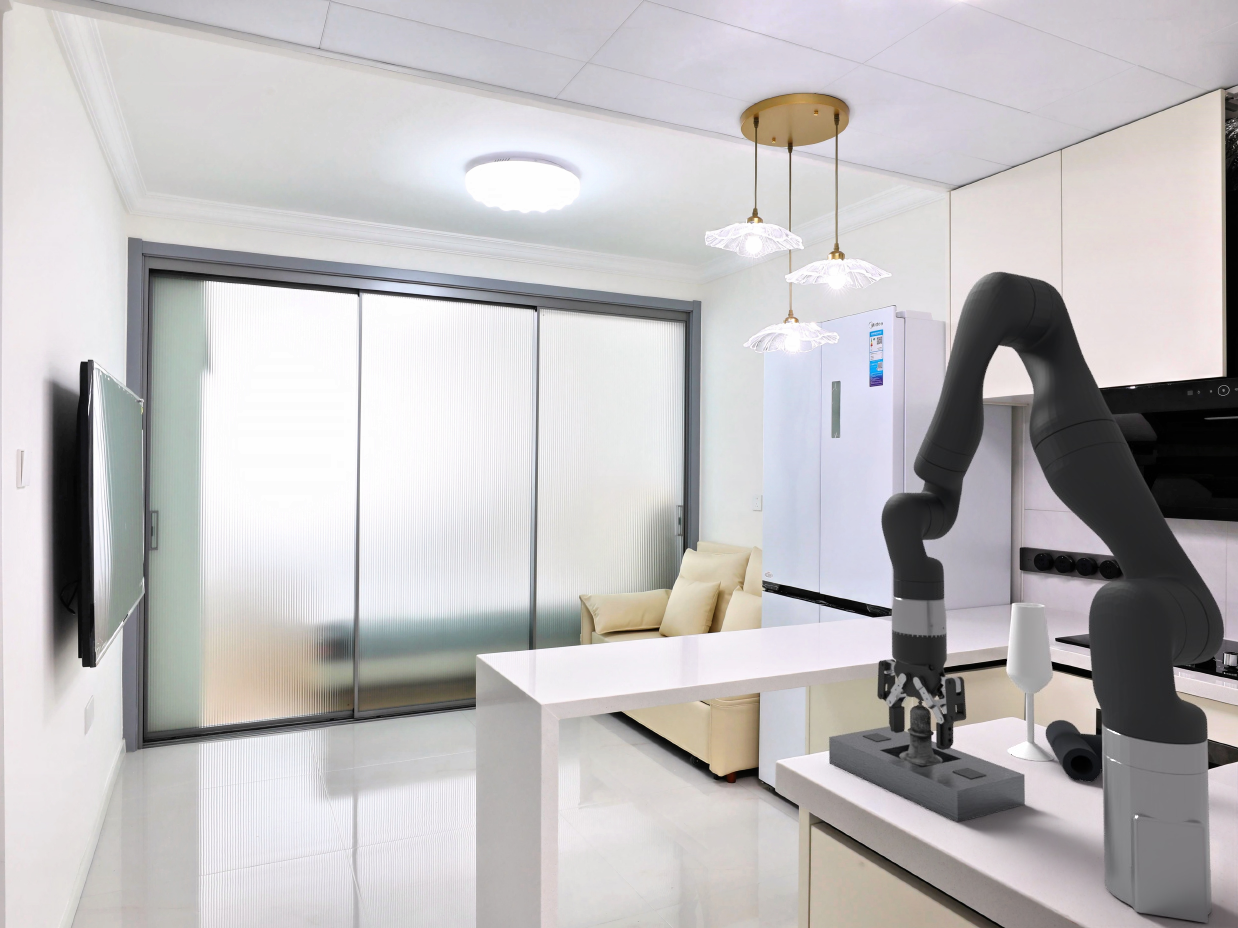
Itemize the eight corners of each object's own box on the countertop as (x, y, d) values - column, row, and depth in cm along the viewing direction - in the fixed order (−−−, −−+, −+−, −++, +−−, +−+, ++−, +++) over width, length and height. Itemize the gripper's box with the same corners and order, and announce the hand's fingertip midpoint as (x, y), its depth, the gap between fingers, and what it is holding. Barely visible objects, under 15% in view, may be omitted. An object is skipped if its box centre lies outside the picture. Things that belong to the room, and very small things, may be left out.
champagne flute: (1005, 744, 130) (1003, 600, 131) (1051, 749, 127) (1048, 603, 128) (1009, 757, 124) (1007, 606, 124) (1057, 763, 121) (1054, 608, 122)
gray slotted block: (1024, 804, 105) (1024, 773, 105) (957, 822, 99) (957, 789, 100) (891, 750, 127) (890, 725, 127) (829, 762, 121) (829, 736, 121)
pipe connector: (1125, 723, 125) (1152, 752, 111) (1126, 756, 125) (1154, 790, 111) (1044, 717, 129) (1061, 745, 115) (1046, 749, 129) (1063, 781, 115)
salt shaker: (921, 792, 109) (920, 706, 109) (890, 778, 114) (890, 696, 115) (952, 786, 111) (951, 702, 112) (920, 772, 117) (920, 692, 117)
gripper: (978, 634, 109) (979, 750, 109) (900, 619, 122) (901, 723, 121) (940, 638, 106) (941, 758, 105) (864, 622, 118) (865, 729, 118)
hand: (919, 739), depth 113 cm, fingers open, 8 cm apart
